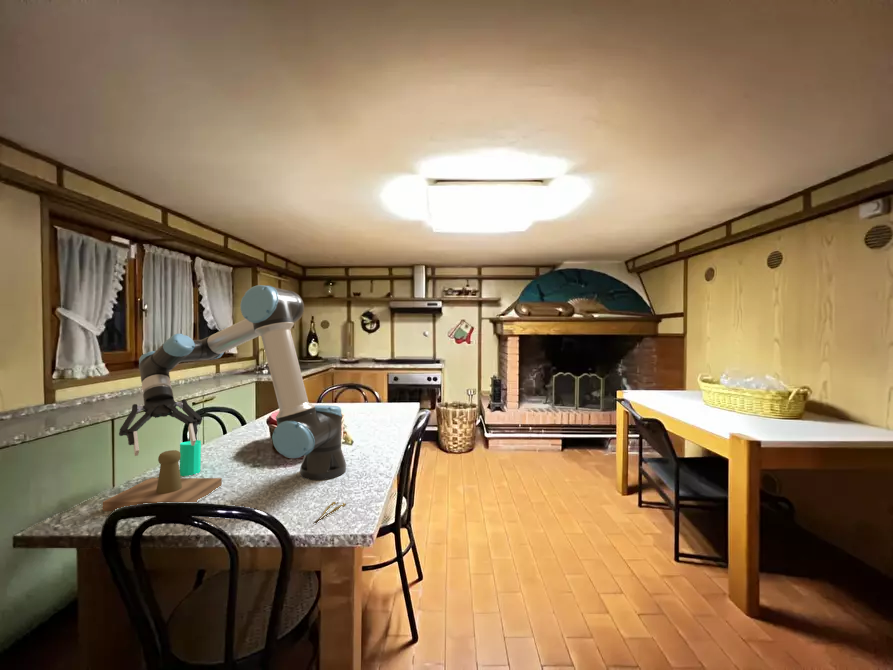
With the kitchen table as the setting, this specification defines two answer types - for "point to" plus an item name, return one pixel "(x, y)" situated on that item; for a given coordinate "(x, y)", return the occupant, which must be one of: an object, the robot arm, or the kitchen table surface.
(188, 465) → the candle
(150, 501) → the walnut board
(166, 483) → the cork
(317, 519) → the tongs
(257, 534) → the kitchen table surface
